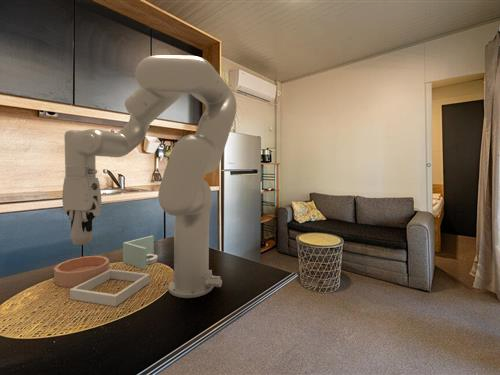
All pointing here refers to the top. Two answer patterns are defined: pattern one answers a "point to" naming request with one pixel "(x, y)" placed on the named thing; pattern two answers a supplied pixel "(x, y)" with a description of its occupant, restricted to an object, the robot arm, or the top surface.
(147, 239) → the right angle wall
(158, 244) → the top surface
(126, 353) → the top surface
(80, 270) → the bowl
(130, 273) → the rectangular frame
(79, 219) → the salt shaker
